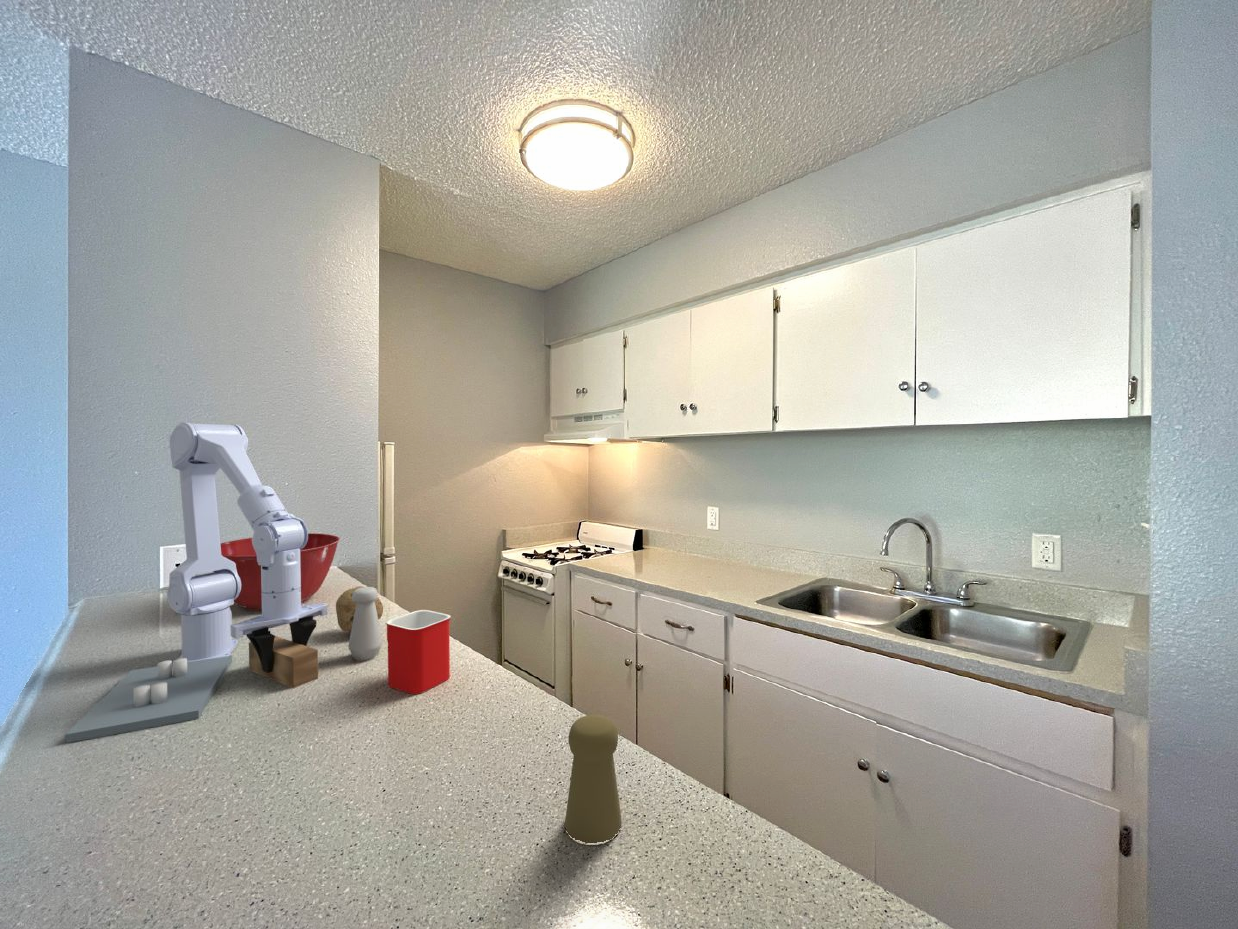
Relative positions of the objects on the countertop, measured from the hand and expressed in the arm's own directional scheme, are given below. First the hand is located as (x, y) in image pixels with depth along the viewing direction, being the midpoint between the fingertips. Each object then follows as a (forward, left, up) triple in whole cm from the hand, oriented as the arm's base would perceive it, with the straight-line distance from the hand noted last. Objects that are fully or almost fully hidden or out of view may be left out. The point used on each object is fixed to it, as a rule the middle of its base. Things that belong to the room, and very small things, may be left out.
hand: (282, 666), depth 89 cm
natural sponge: (-16, +12, -2) cm, 20 cm away
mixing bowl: (-50, -7, -2) cm, 51 cm away
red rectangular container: (+12, +20, -2) cm, 23 cm away
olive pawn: (+57, +34, -2) cm, 66 cm away
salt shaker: (-2, +13, -2) cm, 13 cm away
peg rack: (+1, -16, -1) cm, 16 cm away
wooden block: (0, 0, -2) cm, 2 cm away
